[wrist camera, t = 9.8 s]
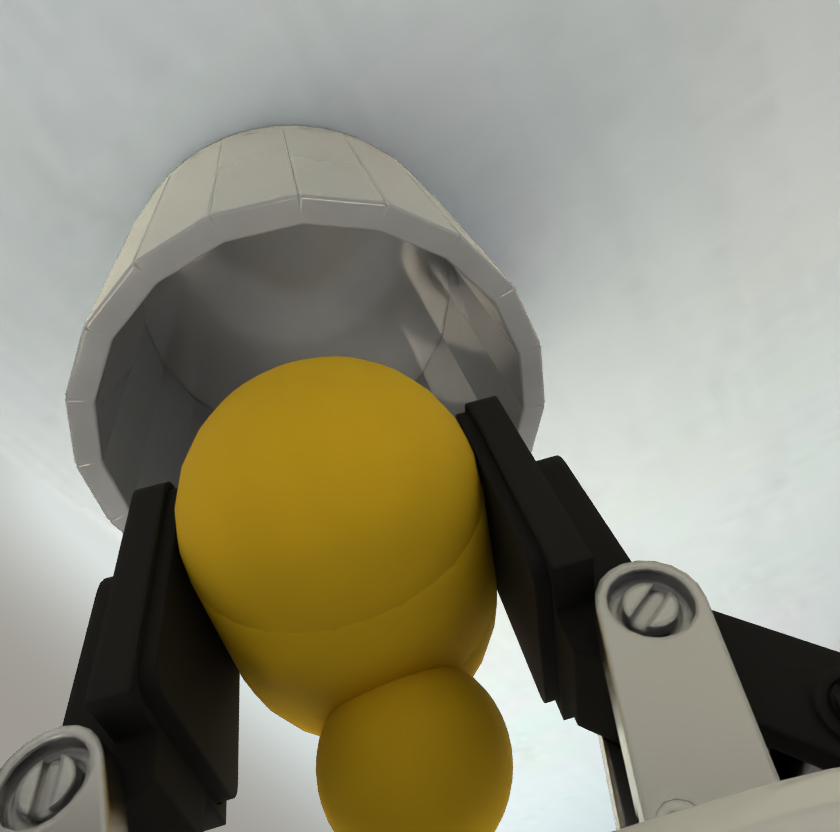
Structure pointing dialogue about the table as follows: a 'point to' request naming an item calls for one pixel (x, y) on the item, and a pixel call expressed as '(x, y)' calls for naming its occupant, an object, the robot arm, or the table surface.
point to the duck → (355, 586)
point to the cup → (285, 300)
